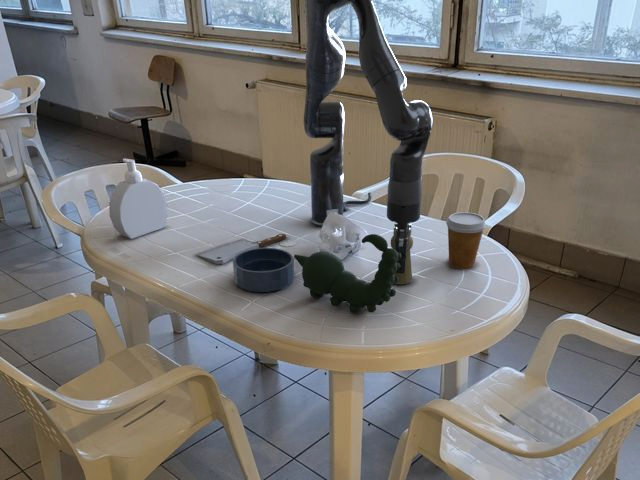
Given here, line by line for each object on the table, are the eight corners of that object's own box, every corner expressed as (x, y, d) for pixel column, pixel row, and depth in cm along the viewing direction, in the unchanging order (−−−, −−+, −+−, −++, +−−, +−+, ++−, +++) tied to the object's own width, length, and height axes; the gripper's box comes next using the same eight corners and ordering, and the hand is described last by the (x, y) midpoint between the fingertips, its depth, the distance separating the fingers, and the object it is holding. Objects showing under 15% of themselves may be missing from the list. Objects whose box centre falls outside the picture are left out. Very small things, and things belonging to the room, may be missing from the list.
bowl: (243, 266, 154) (241, 246, 151) (299, 269, 153) (298, 249, 150) (227, 292, 142) (225, 270, 139) (287, 295, 141) (286, 273, 138)
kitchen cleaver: (269, 228, 174) (291, 236, 168) (270, 232, 175) (292, 240, 168) (195, 252, 160) (216, 262, 154) (195, 256, 161) (216, 266, 154)
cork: (385, 273, 150) (387, 230, 144) (409, 272, 150) (412, 229, 144) (389, 284, 144) (391, 240, 139) (414, 283, 145) (417, 239, 139)
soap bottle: (159, 221, 182) (148, 152, 171) (171, 225, 179) (160, 155, 168) (112, 237, 171) (97, 165, 160) (124, 242, 168) (109, 168, 158)
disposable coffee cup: (483, 259, 158) (489, 214, 152) (477, 274, 150) (483, 227, 144) (446, 254, 161) (450, 209, 154) (439, 268, 153) (443, 222, 147)
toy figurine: (398, 313, 137) (303, 280, 146) (410, 234, 126) (307, 204, 135) (379, 332, 130) (281, 296, 139) (390, 250, 119) (283, 217, 129)
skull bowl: (300, 252, 158) (318, 206, 157) (334, 265, 169) (350, 223, 168) (329, 263, 152) (347, 216, 150) (361, 277, 163) (379, 233, 161)
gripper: (389, 187, 143) (386, 255, 152) (385, 207, 131) (382, 280, 140) (421, 188, 142) (416, 257, 151) (420, 209, 130) (415, 282, 139)
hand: (400, 268), depth 146 cm, fingers closed on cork, 4 cm apart
